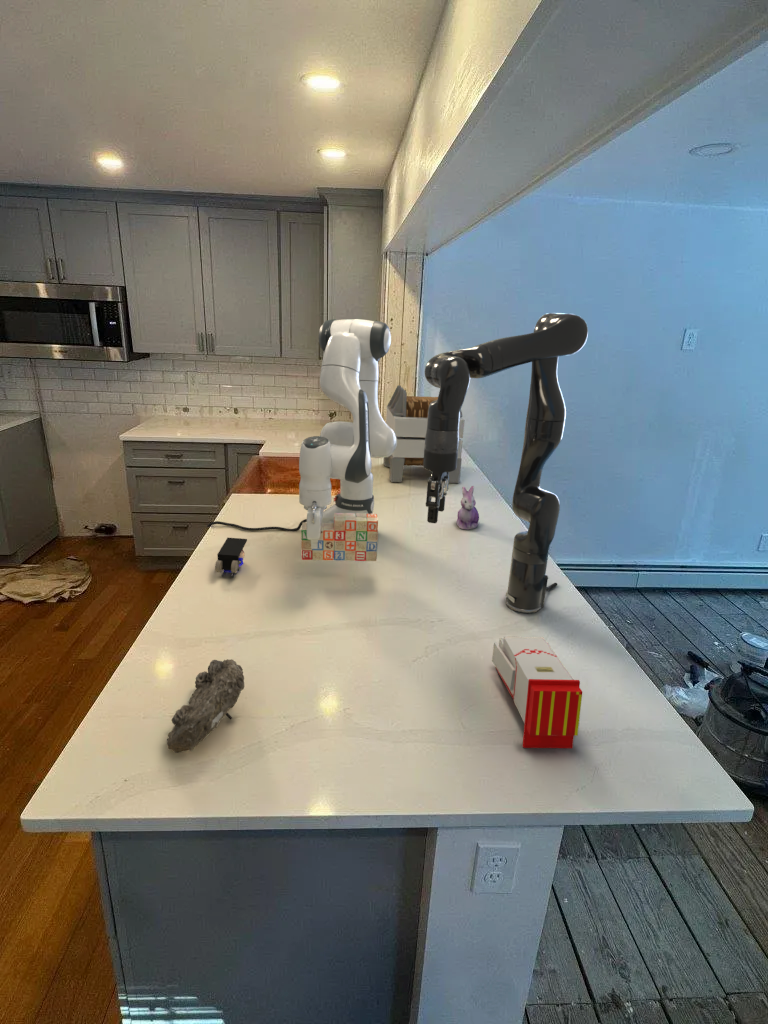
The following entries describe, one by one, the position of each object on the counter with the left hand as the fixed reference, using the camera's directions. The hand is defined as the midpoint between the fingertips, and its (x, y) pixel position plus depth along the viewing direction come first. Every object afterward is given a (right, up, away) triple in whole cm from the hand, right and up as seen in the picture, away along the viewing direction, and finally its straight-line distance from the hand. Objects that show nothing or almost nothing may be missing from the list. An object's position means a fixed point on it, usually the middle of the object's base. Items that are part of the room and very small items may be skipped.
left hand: (315, 542), depth 161 cm
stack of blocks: (+7, -4, +2) cm, 8 cm away
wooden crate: (+37, +28, +114) cm, 123 cm away
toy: (+49, -30, -44) cm, 73 cm away
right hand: (+32, +8, -30) cm, 44 cm away
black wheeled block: (-25, -8, +7) cm, 27 cm away
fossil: (-13, -30, -53) cm, 62 cm away
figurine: (+51, +4, +49) cm, 71 cm away
